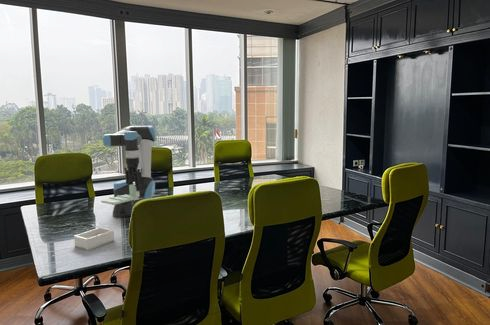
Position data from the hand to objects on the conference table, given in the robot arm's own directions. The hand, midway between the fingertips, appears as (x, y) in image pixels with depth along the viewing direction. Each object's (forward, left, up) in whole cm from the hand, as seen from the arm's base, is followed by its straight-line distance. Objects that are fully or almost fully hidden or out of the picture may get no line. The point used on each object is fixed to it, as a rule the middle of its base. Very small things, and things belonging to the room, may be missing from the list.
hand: (134, 195), depth 223 cm
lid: (0, -9, -1) cm, 9 cm away
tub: (+5, -32, -19) cm, 37 cm away
